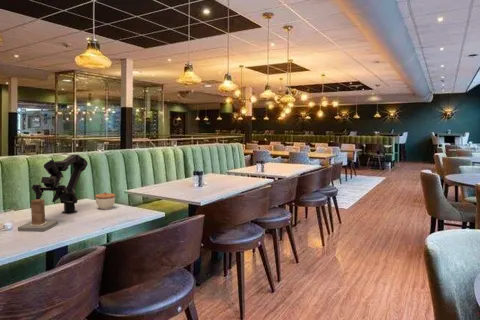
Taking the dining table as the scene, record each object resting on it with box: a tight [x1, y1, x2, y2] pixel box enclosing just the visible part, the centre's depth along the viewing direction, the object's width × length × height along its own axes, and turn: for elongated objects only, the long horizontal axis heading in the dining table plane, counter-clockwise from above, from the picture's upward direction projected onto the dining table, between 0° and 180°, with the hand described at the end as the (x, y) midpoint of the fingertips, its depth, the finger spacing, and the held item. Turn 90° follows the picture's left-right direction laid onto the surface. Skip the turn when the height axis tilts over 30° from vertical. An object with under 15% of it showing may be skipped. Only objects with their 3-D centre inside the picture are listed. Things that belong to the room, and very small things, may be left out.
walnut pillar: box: [30, 198, 46, 225], centre depth 191 cm, size 5×5×13 cm
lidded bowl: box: [94, 191, 116, 210], centre depth 237 cm, size 13×13×11 cm
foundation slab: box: [17, 219, 59, 233], centre depth 192 cm, size 14×14×2 cm
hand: (44, 201), depth 197 cm, fingers open, 9 cm apart
